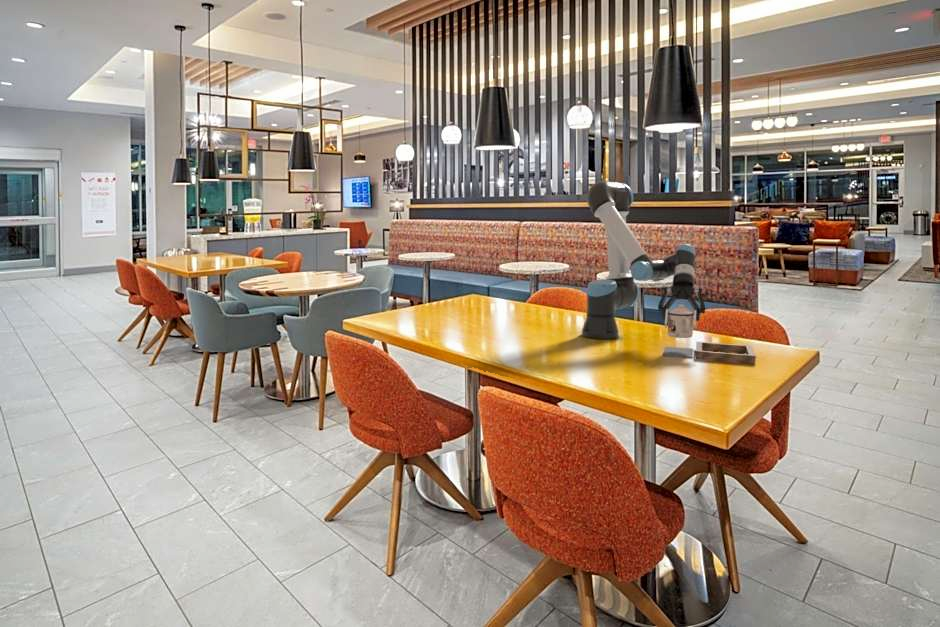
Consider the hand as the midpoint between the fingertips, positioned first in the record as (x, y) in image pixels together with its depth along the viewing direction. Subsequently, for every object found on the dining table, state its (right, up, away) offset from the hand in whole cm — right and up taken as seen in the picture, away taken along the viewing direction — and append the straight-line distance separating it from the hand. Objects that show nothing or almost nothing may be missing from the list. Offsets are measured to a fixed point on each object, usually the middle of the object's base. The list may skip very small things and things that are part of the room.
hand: (680, 326), depth 211 cm
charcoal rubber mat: (+1, -10, +5) cm, 11 cm away
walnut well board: (+15, -11, -1) cm, 19 cm away
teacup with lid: (+2, -4, +3) cm, 6 cm away
